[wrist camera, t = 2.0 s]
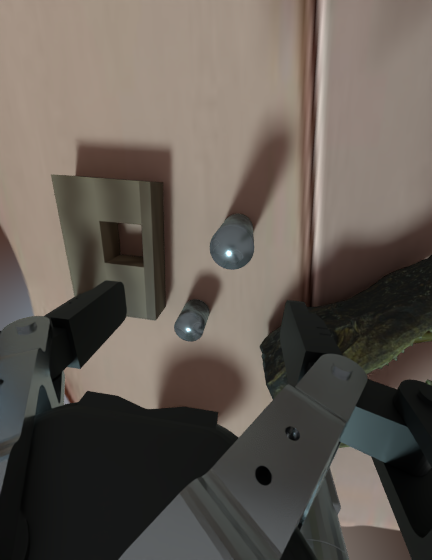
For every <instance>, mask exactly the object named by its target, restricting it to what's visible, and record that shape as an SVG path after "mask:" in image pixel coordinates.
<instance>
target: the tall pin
mask: <svg viewBox="0 0 432 560" xmlns="http://www.w3.org/2000/svg"><path fill="white" fill-rule="evenodd" d="M210 253H211V256H212V258H213V260H214V261H215V262H216V263H217V264H218V265H219V266H221V267H223V268H226V269H239V268H241V267H243V266H245V265H246V264H247V263H248V262H249V261H250V260H251V258H252V256H253V253H254V237H253V225H252V222H251V221H250V219H249V218H248V217H247V216H245V215H243V214H233V215H231V216H229V217H228V218H227V219H226V220H225V221H224V223H223V224H222V225H221V227H220V228H219V229H218V230H217V232H216V233H215V234H214V236H213V237H212V239H211V242H210Z"/></svg>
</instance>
